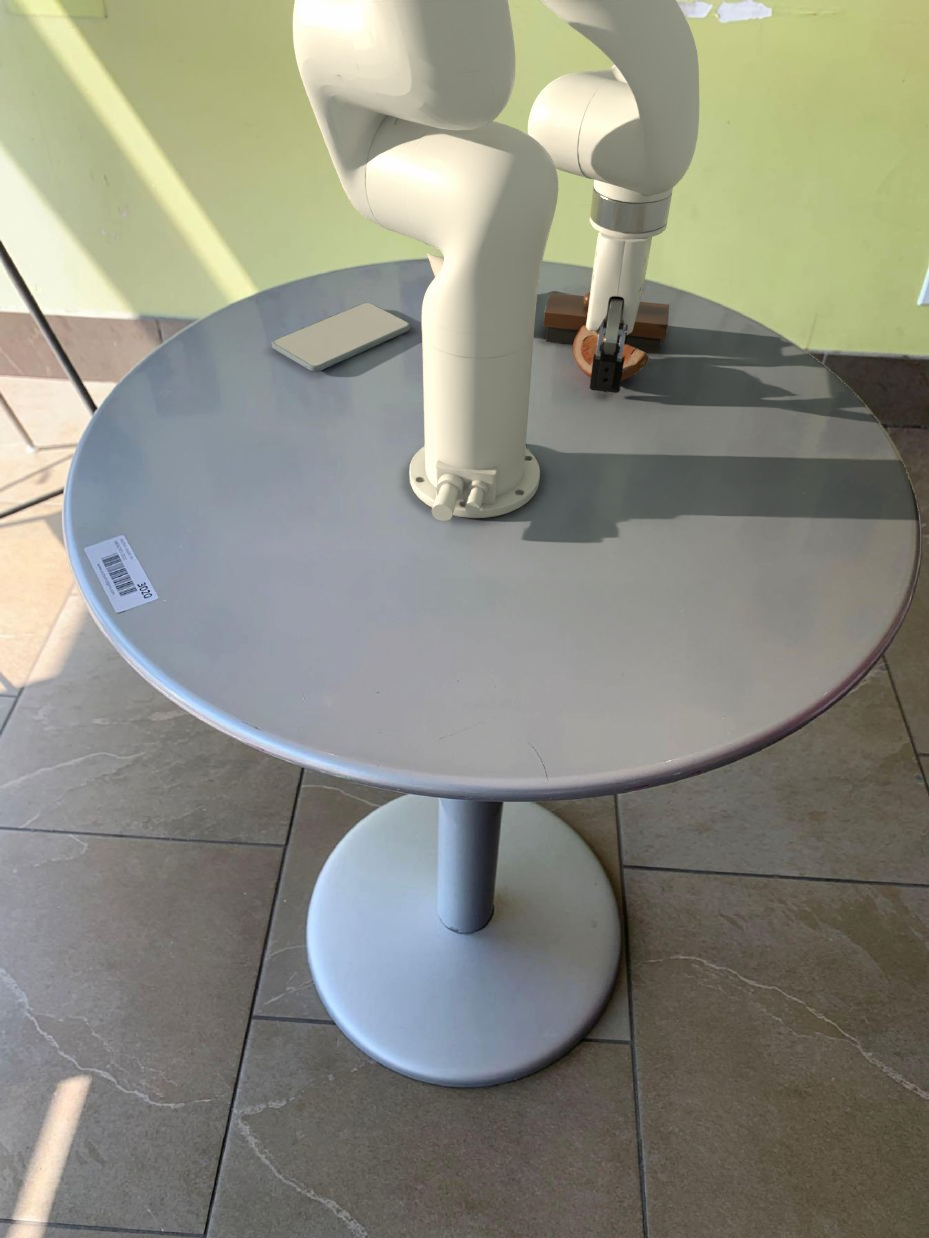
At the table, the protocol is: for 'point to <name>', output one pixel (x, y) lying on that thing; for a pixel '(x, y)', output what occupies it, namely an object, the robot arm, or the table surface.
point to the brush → (571, 315)
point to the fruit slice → (587, 348)
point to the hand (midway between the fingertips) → (607, 369)
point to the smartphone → (340, 336)
